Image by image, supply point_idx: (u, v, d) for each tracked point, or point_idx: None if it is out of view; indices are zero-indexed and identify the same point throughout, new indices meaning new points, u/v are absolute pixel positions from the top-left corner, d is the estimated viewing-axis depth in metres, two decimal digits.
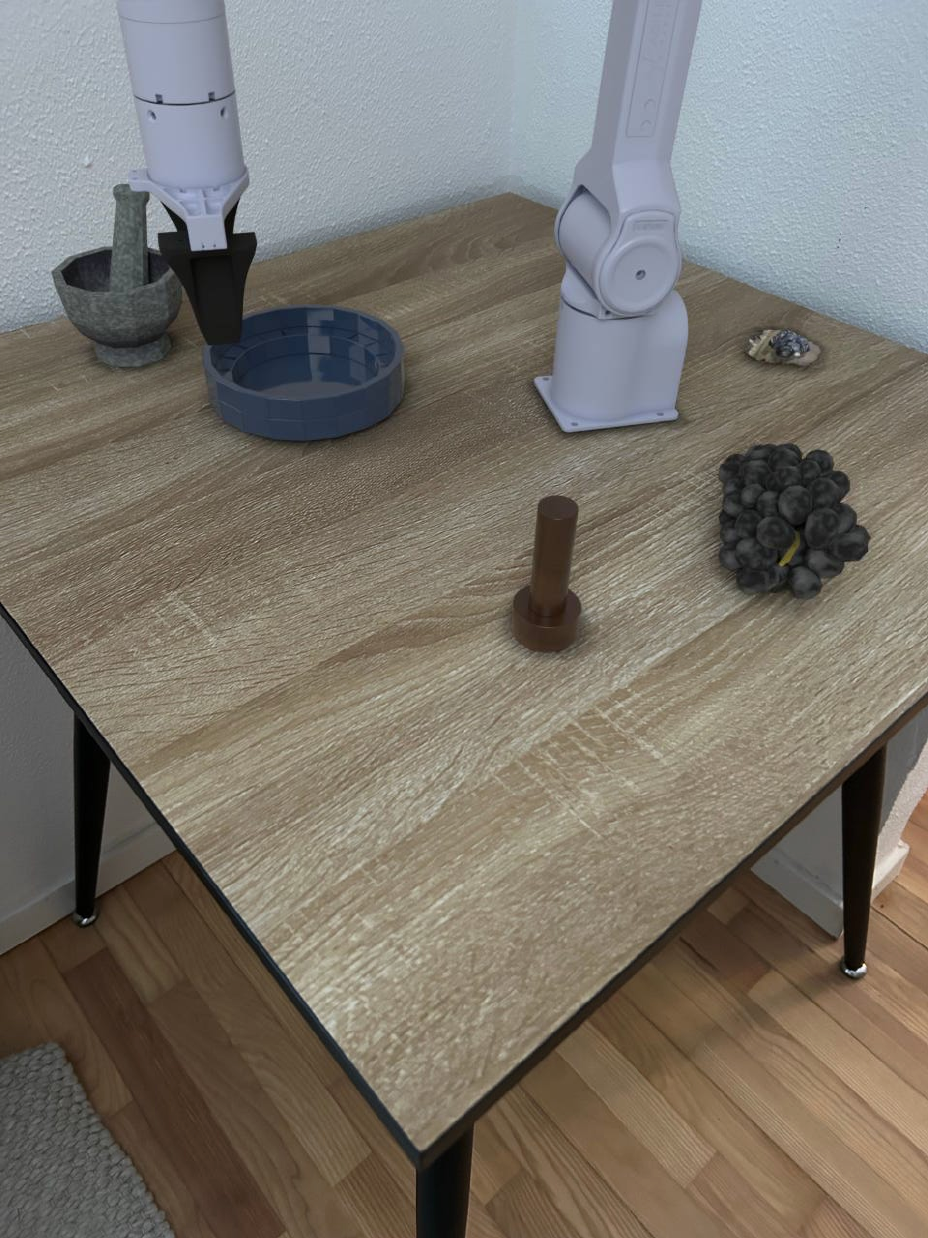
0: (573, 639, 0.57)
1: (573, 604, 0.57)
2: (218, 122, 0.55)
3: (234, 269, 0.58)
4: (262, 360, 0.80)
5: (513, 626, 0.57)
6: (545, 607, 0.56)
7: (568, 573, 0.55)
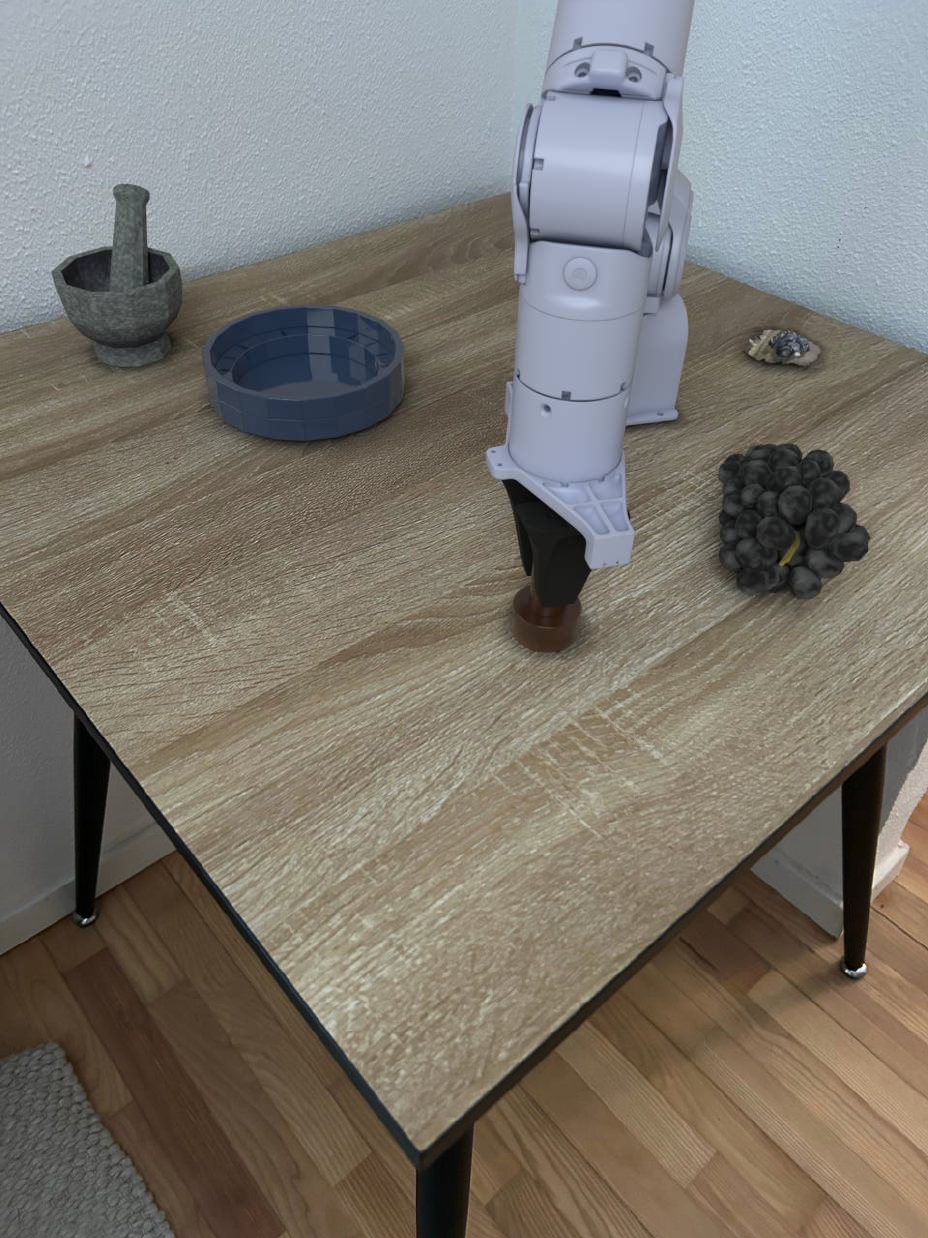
0: (573, 639, 0.57)
1: (573, 604, 0.57)
2: (619, 413, 0.46)
3: None
4: (262, 360, 0.80)
5: (513, 626, 0.57)
6: None
7: None
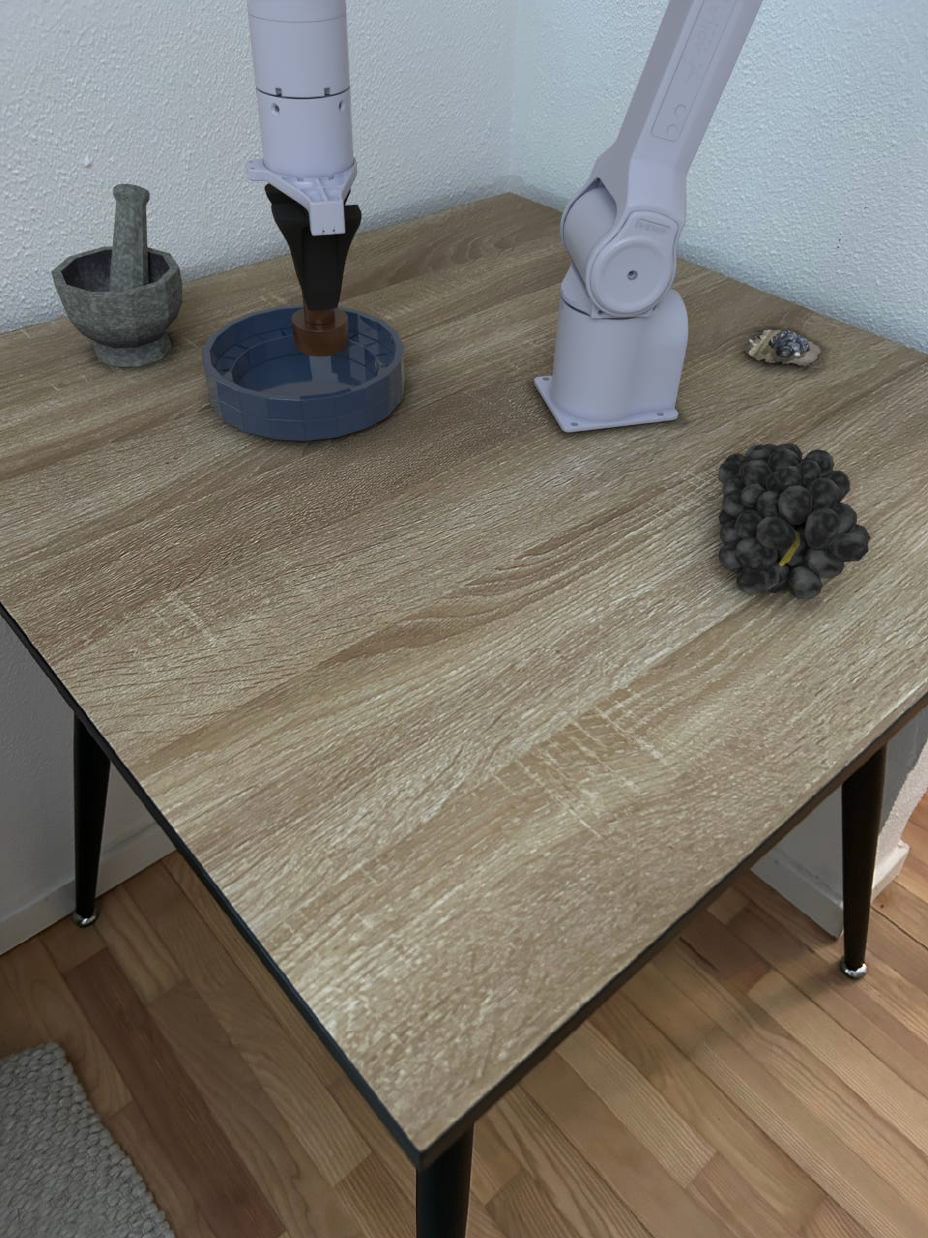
0: (342, 347, 0.70)
1: (341, 318, 0.70)
2: (336, 115, 0.59)
3: (340, 238, 0.63)
4: (262, 360, 0.80)
5: (293, 337, 0.70)
6: (314, 315, 0.68)
7: None
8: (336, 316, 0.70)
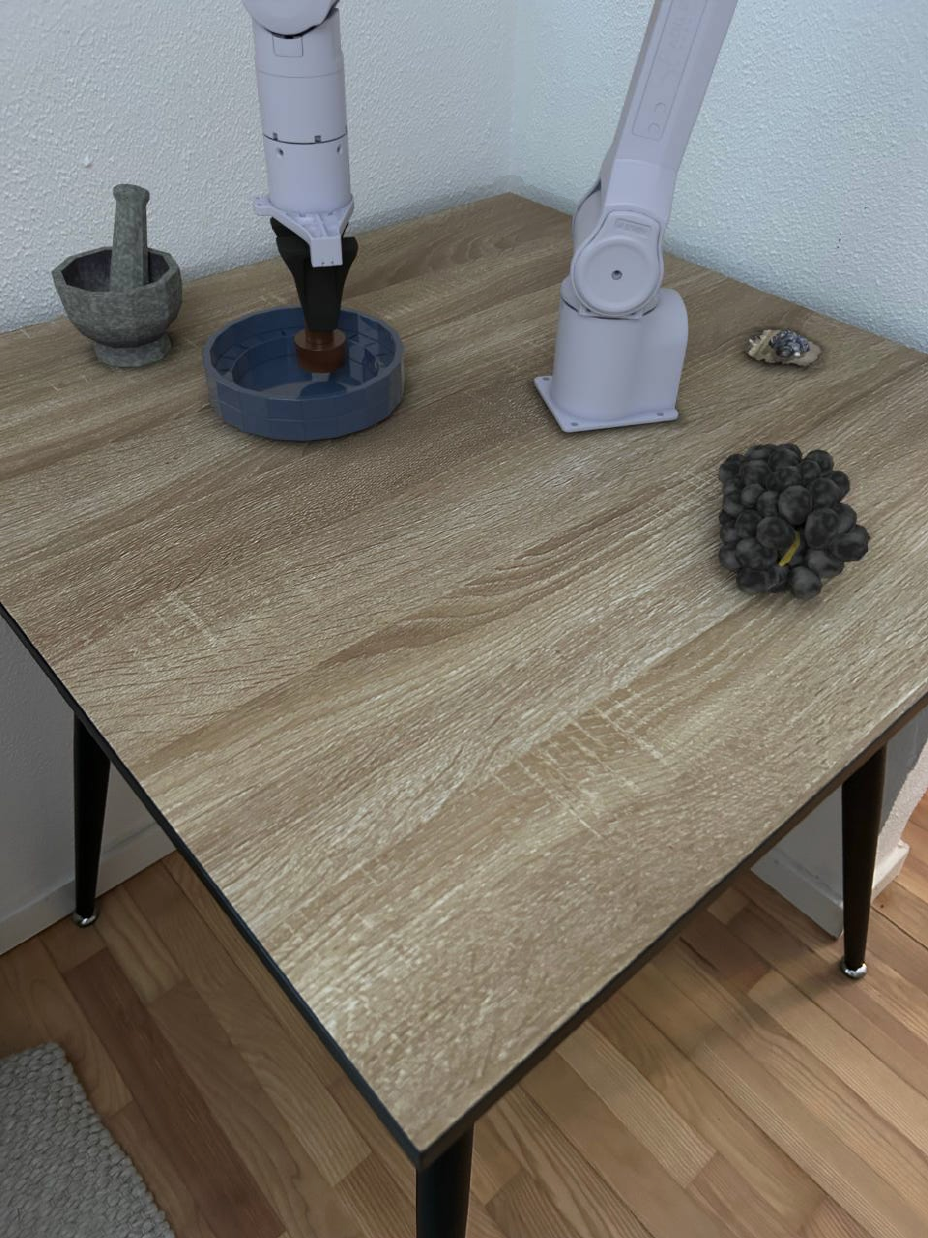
0: (340, 364, 0.76)
1: (339, 337, 0.76)
2: (335, 158, 0.65)
3: (338, 267, 0.70)
4: (262, 360, 0.80)
5: None
6: (314, 335, 0.75)
7: None
8: (335, 336, 0.76)
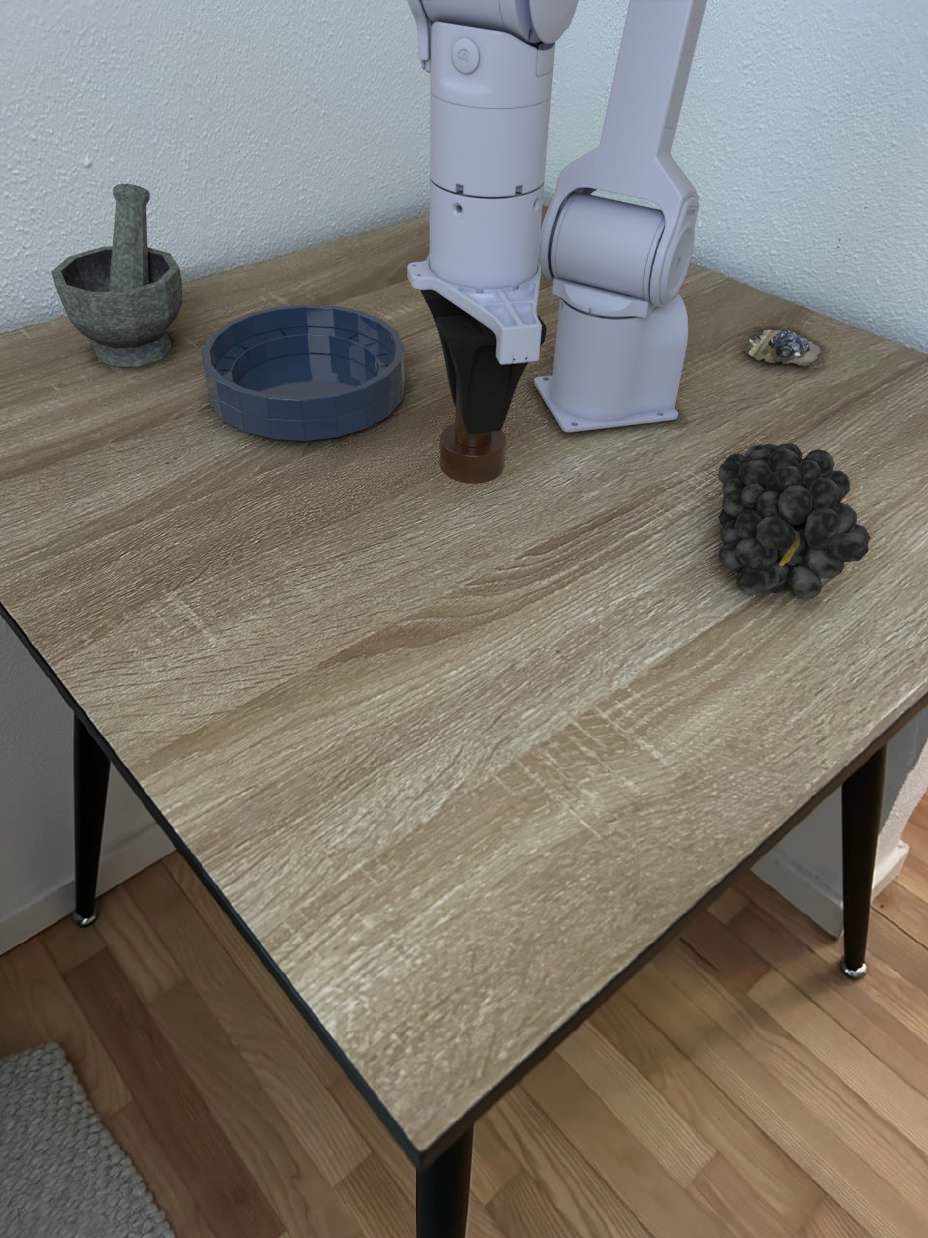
0: (498, 472, 0.59)
1: (498, 438, 0.59)
2: (529, 216, 0.48)
3: None
4: (262, 360, 0.80)
5: (441, 460, 0.59)
6: (469, 436, 0.57)
7: None
8: (492, 435, 0.59)
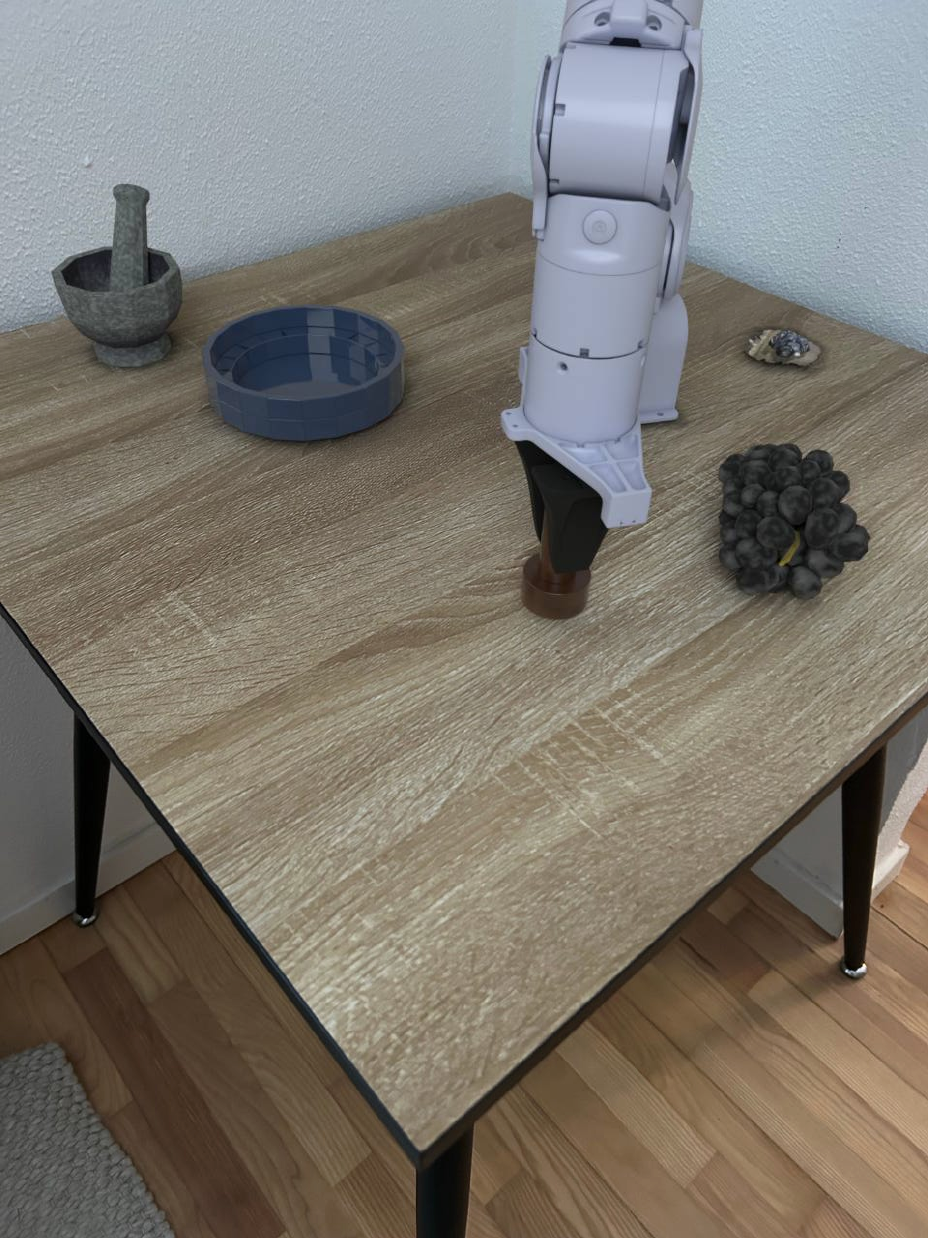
0: (583, 607, 0.57)
1: (583, 572, 0.57)
2: (635, 372, 0.46)
3: None
4: (262, 360, 0.80)
5: (523, 594, 0.57)
6: (555, 574, 0.55)
7: None
8: None
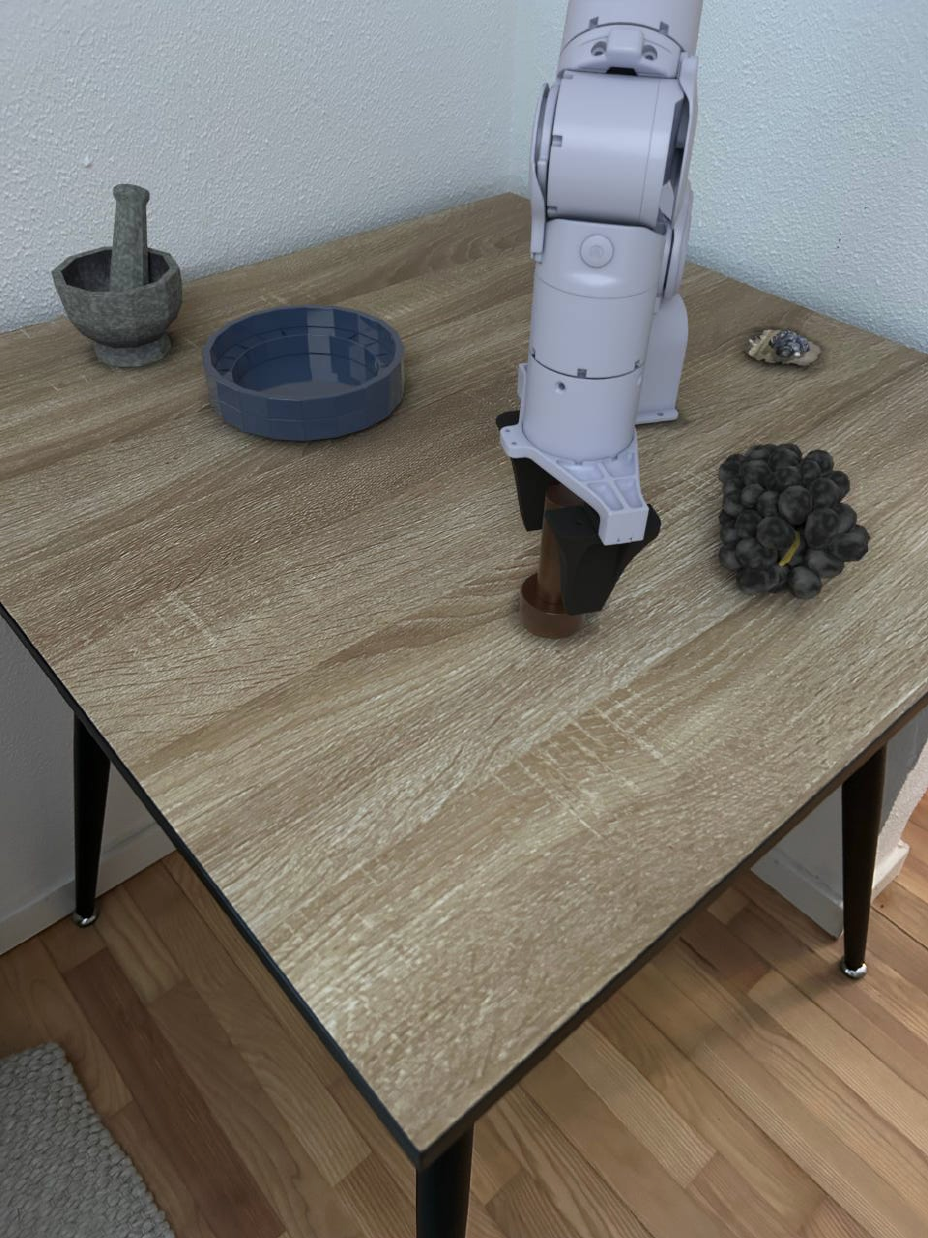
0: (580, 626, 0.58)
1: None
2: (632, 391, 0.47)
3: (629, 549, 0.49)
4: (262, 360, 0.80)
5: (521, 613, 0.58)
6: (552, 594, 0.57)
7: None
8: None
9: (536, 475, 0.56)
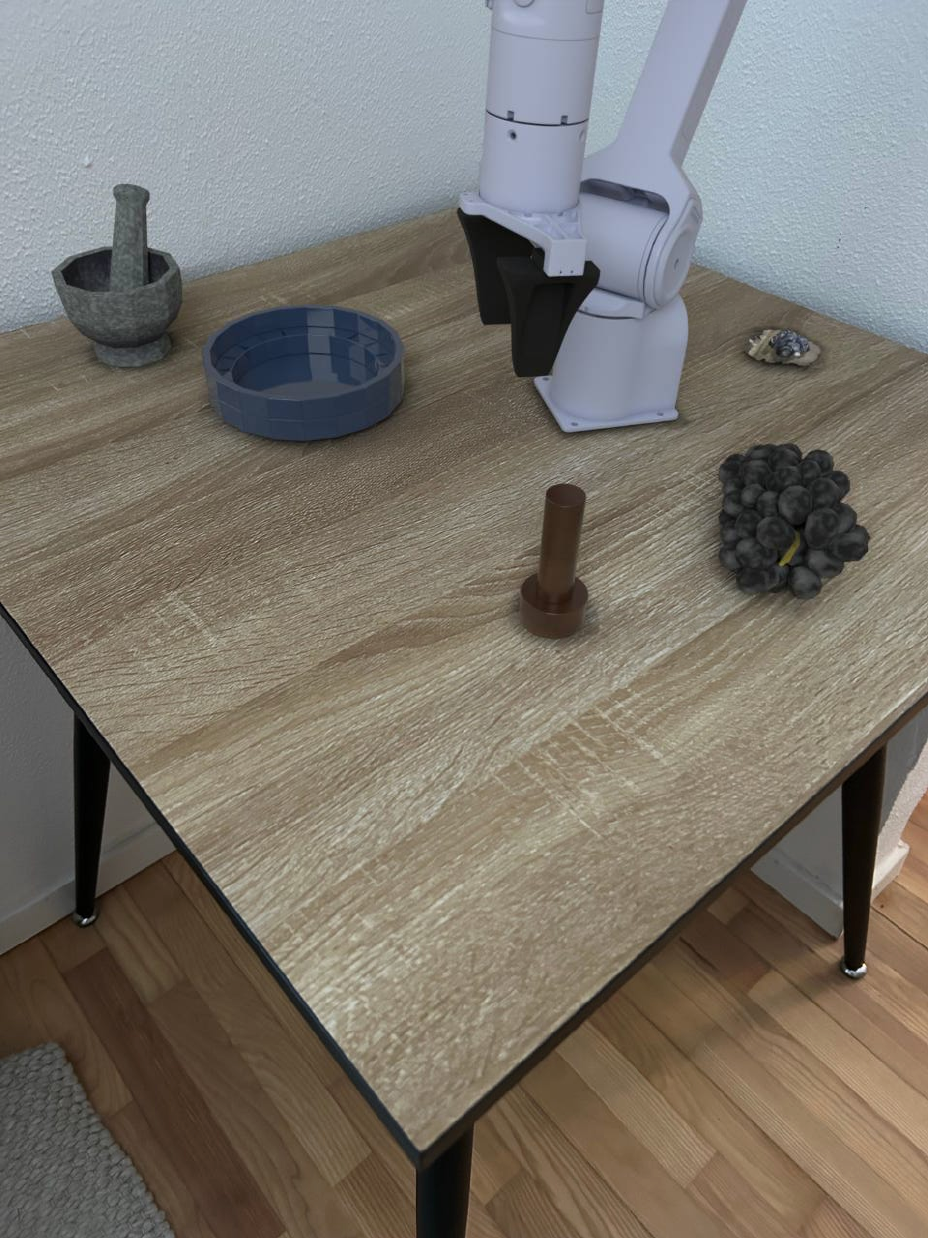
0: (580, 626, 0.58)
1: (580, 591, 0.58)
2: (576, 146, 0.53)
3: (572, 298, 0.55)
4: (262, 360, 0.80)
5: (521, 613, 0.58)
6: (552, 594, 0.57)
7: (576, 560, 0.55)
8: (574, 589, 0.58)
9: (492, 264, 0.62)
